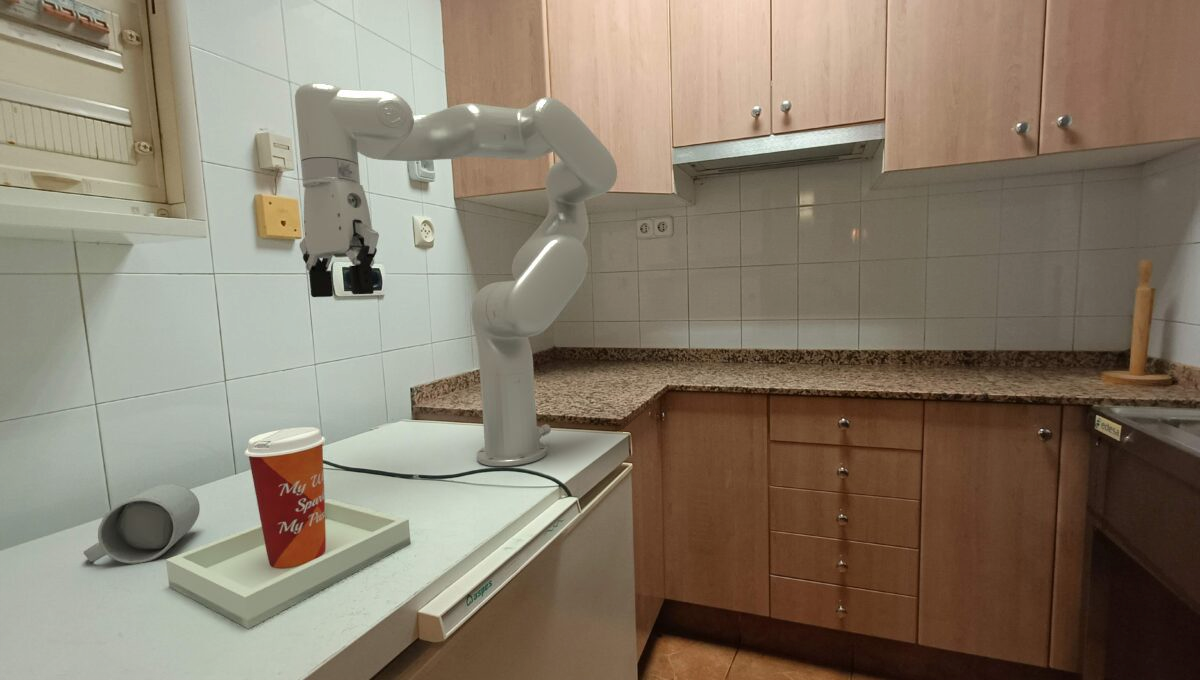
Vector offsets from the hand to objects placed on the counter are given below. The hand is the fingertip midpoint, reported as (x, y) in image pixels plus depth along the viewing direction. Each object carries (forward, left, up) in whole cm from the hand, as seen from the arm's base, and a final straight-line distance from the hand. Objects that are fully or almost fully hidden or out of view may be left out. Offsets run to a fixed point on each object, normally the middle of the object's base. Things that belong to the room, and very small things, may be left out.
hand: (342, 295), depth 78 cm
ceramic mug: (+24, -8, -31) cm, 40 cm away
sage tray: (+17, +13, -30) cm, 37 cm away
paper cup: (+17, +13, -30) cm, 37 cm away
